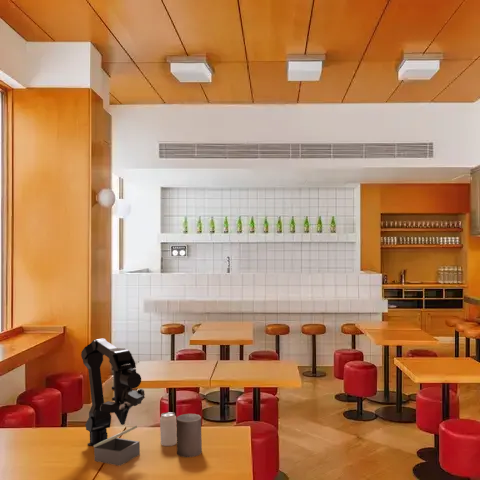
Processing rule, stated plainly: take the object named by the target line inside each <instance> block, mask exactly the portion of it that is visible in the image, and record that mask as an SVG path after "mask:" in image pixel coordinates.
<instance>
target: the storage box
mask: <svg viewBox="0 0 480 480" xmlns="http://www.w3.org/2000/svg"><path fill="white" fill-rule="evenodd" d="M140 446H141V445H140V441H139V440H132V439H127V438H120V437H117V438H115V439H113V440H111V441H108V442H106V443H104V444H101V445H99V446H97V447H93V448H94V451H93V452H94V462H99V463H104V464H109V465H112V466H118V467H120V466H123V465H125V464H126V463H128V462H130V461H131V460H133V459H135V458H136V457H138V456H139V455H141V453H140V451H141V450H140V448H141V447H140Z"/></svg>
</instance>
